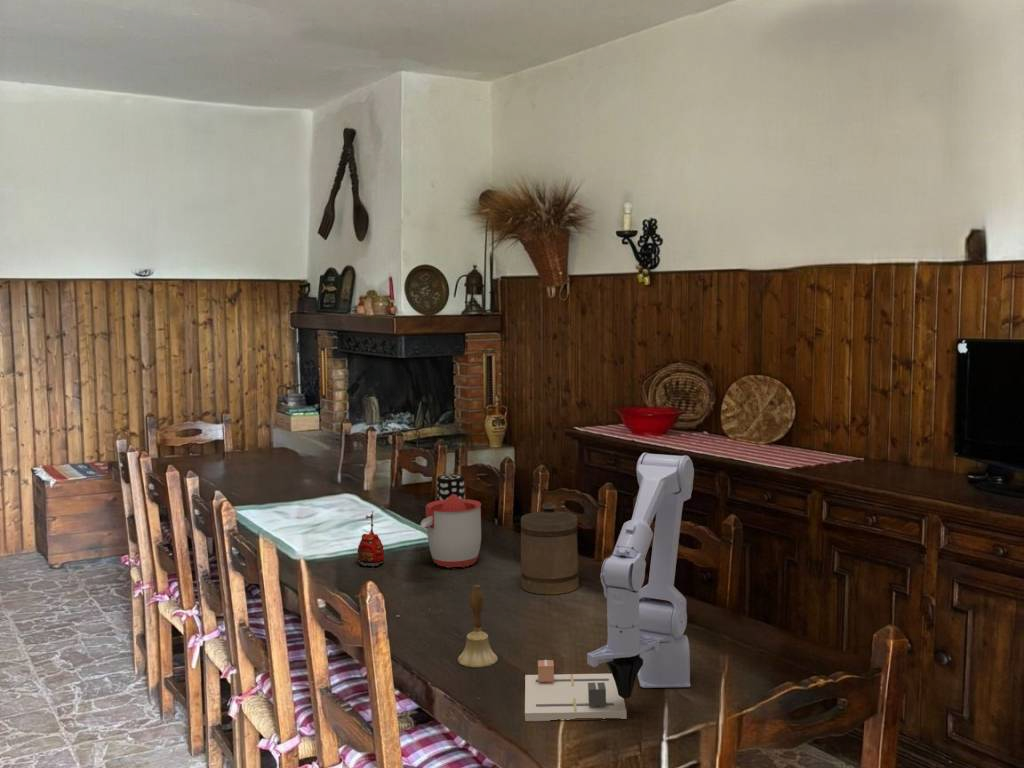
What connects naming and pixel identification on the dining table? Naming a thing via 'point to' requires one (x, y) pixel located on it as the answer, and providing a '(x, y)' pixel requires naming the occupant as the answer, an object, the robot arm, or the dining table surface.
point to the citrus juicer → (453, 531)
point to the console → (570, 698)
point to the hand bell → (477, 637)
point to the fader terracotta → (545, 670)
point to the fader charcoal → (596, 694)
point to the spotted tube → (450, 486)
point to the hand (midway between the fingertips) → (624, 696)
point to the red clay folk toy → (370, 547)
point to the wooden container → (549, 551)
